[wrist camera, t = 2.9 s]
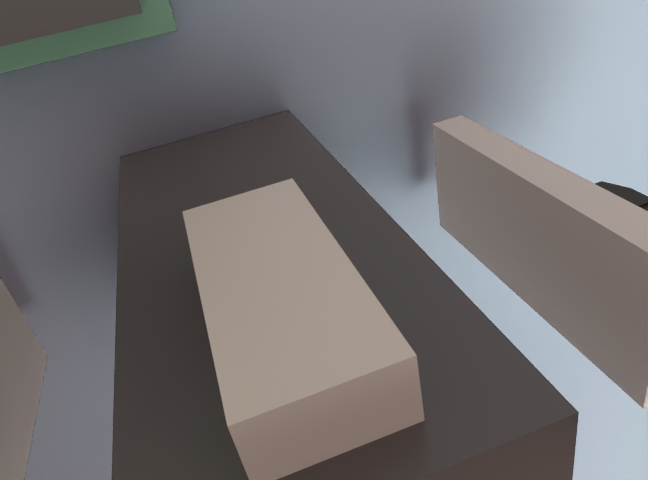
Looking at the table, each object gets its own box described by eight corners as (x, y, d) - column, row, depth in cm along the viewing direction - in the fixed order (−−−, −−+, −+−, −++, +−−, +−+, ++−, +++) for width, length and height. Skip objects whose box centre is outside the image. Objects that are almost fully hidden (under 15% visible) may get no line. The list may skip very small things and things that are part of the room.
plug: (176, 296, 14) (245, 785, 6) (106, 123, 12) (60, 550, 4) (318, 249, 15) (557, 631, 7) (280, 76, 13) (584, 342, 4)
